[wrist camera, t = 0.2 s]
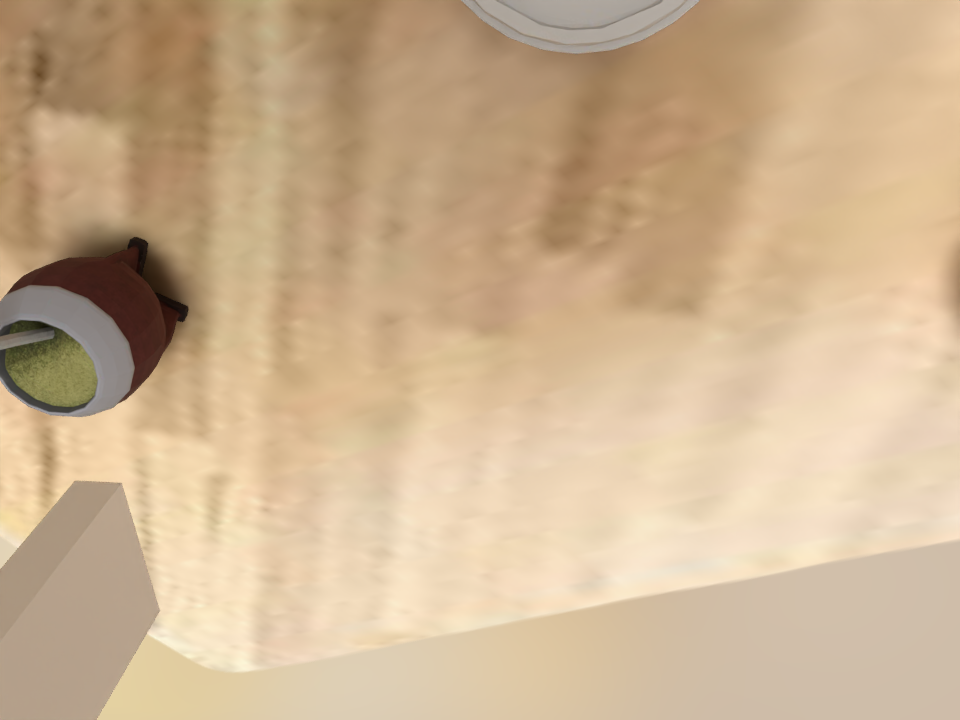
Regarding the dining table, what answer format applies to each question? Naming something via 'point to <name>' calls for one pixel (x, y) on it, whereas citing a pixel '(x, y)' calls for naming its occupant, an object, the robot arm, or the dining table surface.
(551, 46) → the disposable coffee cup
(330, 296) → the dining table surface
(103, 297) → the mate gourd
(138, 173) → the dining table surface
